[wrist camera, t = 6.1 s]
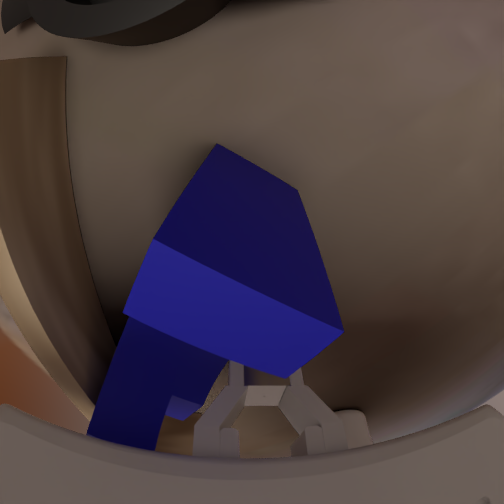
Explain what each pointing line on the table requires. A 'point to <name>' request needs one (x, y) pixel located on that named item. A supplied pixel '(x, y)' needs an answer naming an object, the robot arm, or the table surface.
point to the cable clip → (216, 299)
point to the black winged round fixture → (113, 18)
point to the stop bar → (53, 243)
